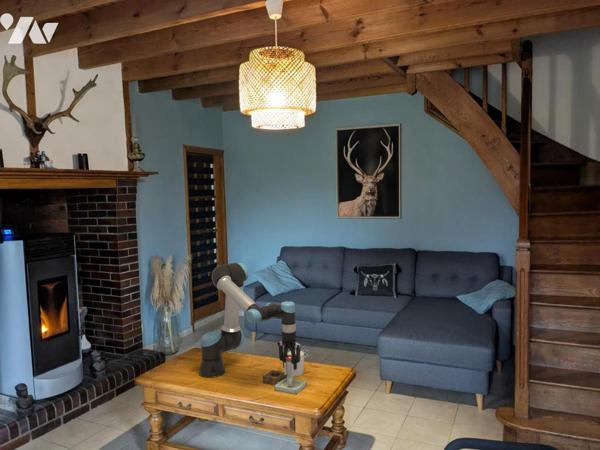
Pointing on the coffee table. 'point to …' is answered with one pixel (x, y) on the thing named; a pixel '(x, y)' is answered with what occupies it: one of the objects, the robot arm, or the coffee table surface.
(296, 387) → the tray
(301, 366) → the candle holder
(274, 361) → the coffee table surface
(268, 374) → the socket block
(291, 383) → the pin
